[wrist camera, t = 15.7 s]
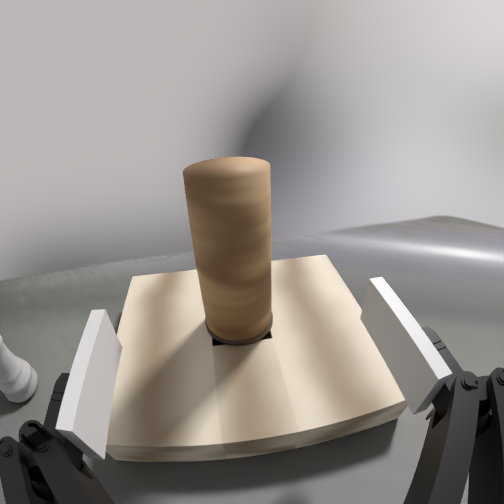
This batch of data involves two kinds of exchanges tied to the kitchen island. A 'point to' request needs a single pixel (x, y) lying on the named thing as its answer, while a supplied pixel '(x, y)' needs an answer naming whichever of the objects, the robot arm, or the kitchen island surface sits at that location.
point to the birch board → (245, 371)
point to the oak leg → (232, 245)
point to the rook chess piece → (16, 376)
